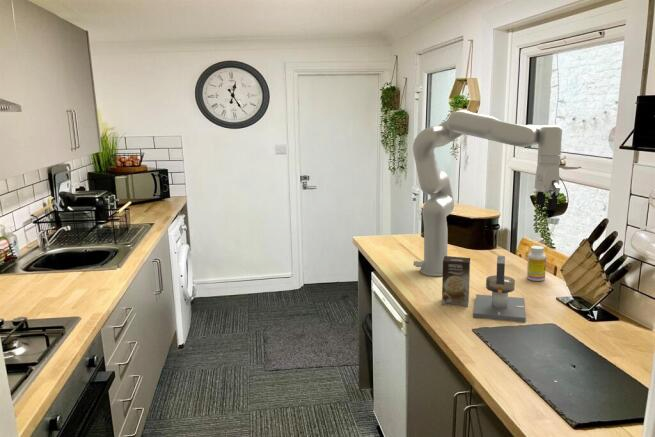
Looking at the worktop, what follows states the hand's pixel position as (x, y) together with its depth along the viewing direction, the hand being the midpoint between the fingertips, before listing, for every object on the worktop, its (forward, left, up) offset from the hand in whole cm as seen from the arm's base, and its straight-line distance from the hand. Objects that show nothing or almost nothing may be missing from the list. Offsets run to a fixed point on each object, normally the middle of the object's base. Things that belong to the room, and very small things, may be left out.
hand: (546, 207), depth 189 cm
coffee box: (-29, -25, -31) cm, 49 cm away
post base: (-15, -28, -30) cm, 44 cm away
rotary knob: (-15, -29, -23) cm, 40 cm away
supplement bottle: (-2, +8, -31) cm, 32 cm away
